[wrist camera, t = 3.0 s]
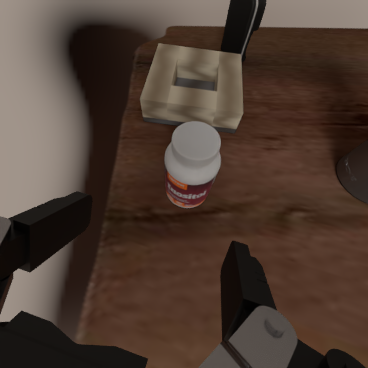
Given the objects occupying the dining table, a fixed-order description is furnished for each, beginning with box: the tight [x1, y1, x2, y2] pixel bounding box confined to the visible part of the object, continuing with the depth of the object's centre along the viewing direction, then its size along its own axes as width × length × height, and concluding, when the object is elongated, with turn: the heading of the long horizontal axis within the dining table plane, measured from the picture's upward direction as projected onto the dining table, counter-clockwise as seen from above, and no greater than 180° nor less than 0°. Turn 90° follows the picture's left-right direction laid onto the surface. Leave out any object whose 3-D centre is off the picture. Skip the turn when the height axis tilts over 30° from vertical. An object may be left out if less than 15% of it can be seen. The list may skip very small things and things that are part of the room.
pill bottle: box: [165, 121, 221, 208], centre depth 23 cm, size 6×6×11 cm
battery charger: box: [221, 0, 266, 62], centre depth 39 cm, size 7×4×11 cm, turn 28°
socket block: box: [140, 43, 243, 133], centre depth 35 cm, size 16×16×4 cm
